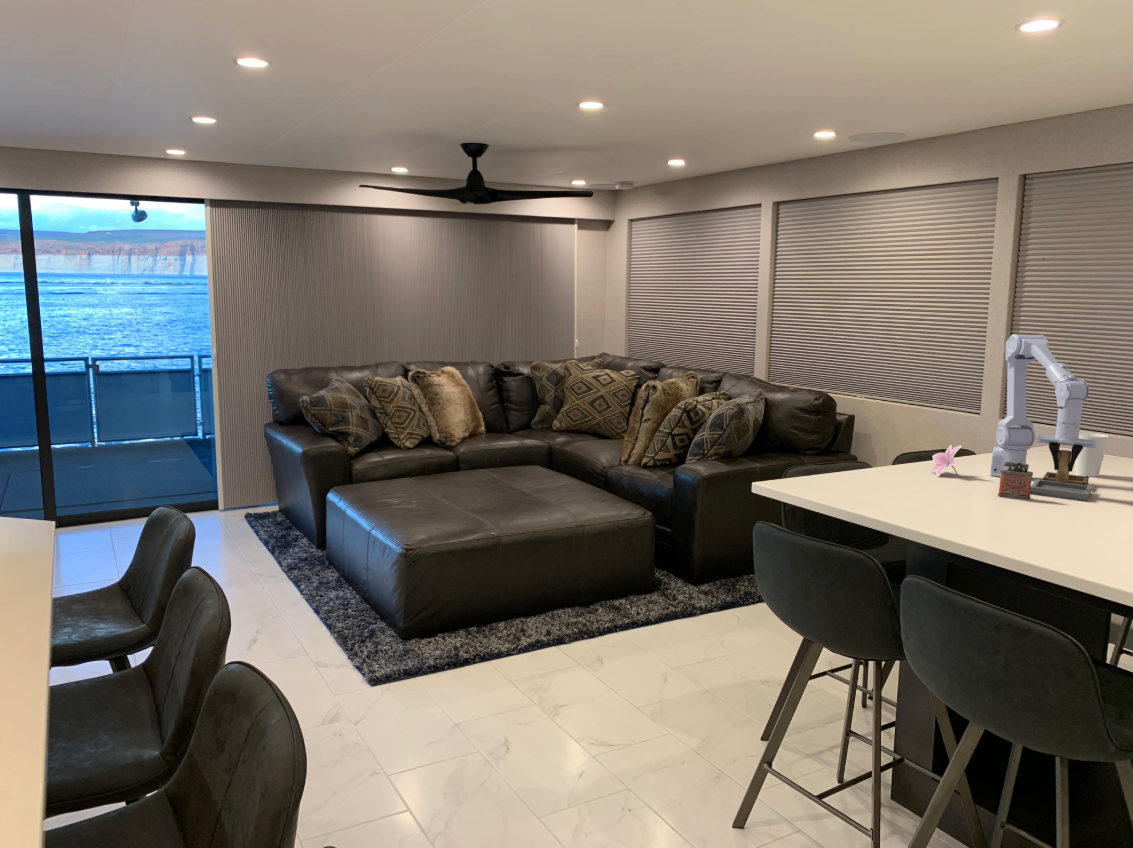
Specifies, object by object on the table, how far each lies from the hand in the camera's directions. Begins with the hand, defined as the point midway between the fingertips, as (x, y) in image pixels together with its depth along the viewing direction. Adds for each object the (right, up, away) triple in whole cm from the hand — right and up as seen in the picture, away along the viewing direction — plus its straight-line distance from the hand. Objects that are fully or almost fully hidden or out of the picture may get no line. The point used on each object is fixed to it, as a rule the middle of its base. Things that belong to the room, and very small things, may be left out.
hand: (1063, 470), depth 244 cm
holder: (+8, -5, +12) cm, 16 cm away
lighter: (-17, -7, -6) cm, 19 cm away
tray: (0, -7, +1) cm, 7 cm away
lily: (-23, -3, +24) cm, 34 cm away
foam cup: (+25, -3, +30) cm, 39 cm away
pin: (0, -3, 0) cm, 3 cm away
